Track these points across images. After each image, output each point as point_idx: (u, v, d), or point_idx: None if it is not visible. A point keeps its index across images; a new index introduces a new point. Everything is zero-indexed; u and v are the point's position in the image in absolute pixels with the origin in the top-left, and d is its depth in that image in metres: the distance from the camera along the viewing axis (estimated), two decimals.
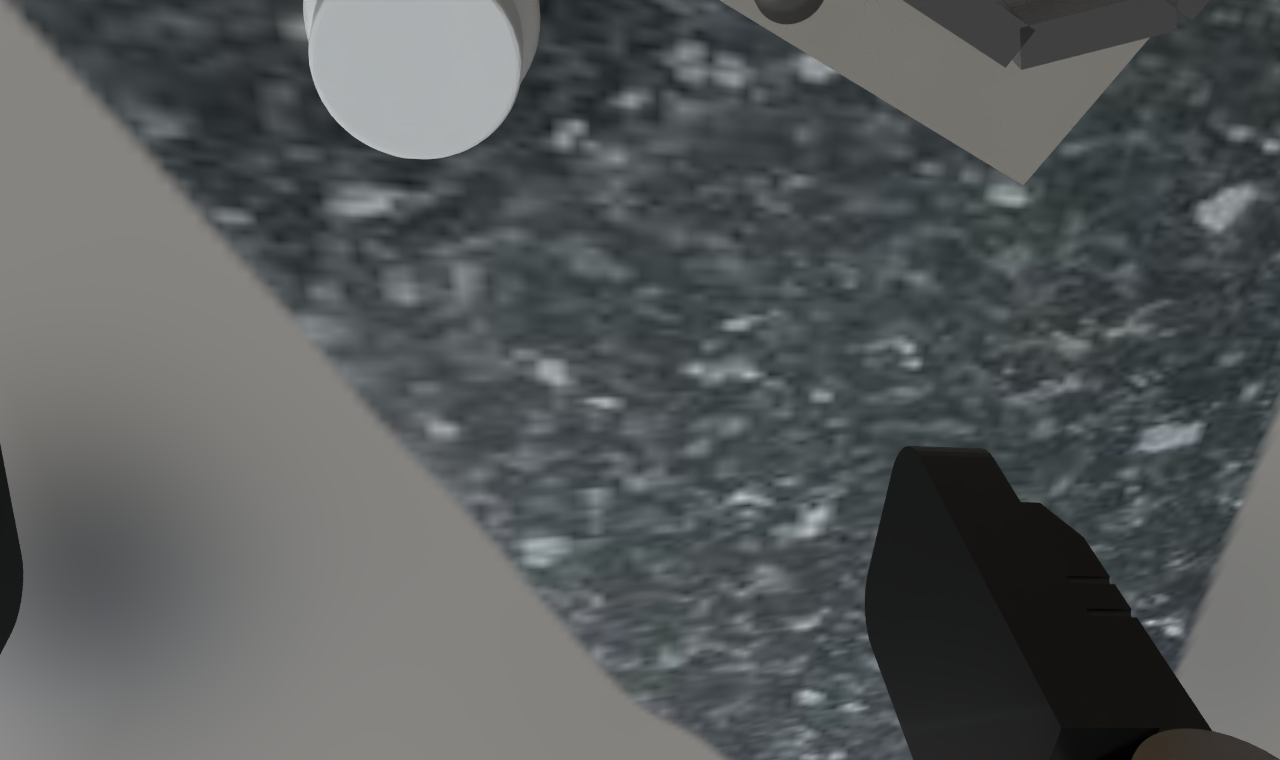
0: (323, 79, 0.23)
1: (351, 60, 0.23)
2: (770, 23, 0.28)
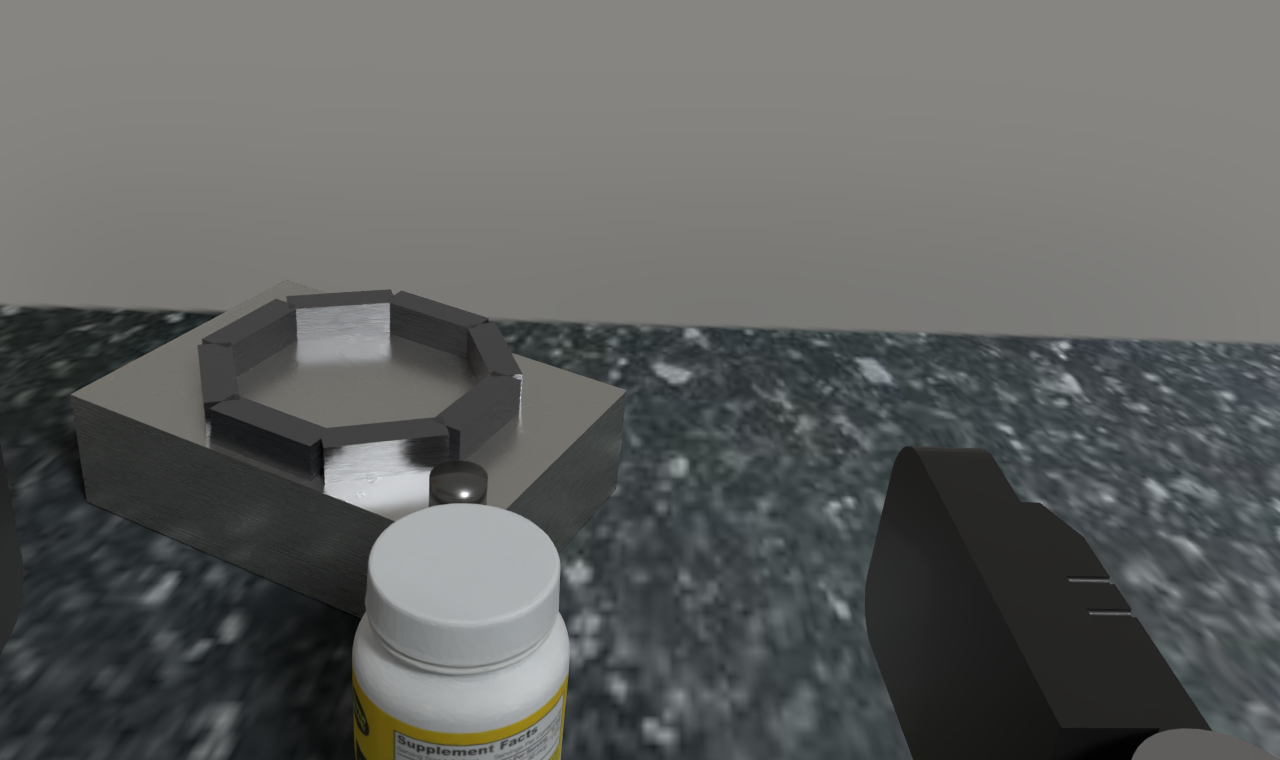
0: (477, 616, 0.24)
1: (459, 596, 0.24)
2: None
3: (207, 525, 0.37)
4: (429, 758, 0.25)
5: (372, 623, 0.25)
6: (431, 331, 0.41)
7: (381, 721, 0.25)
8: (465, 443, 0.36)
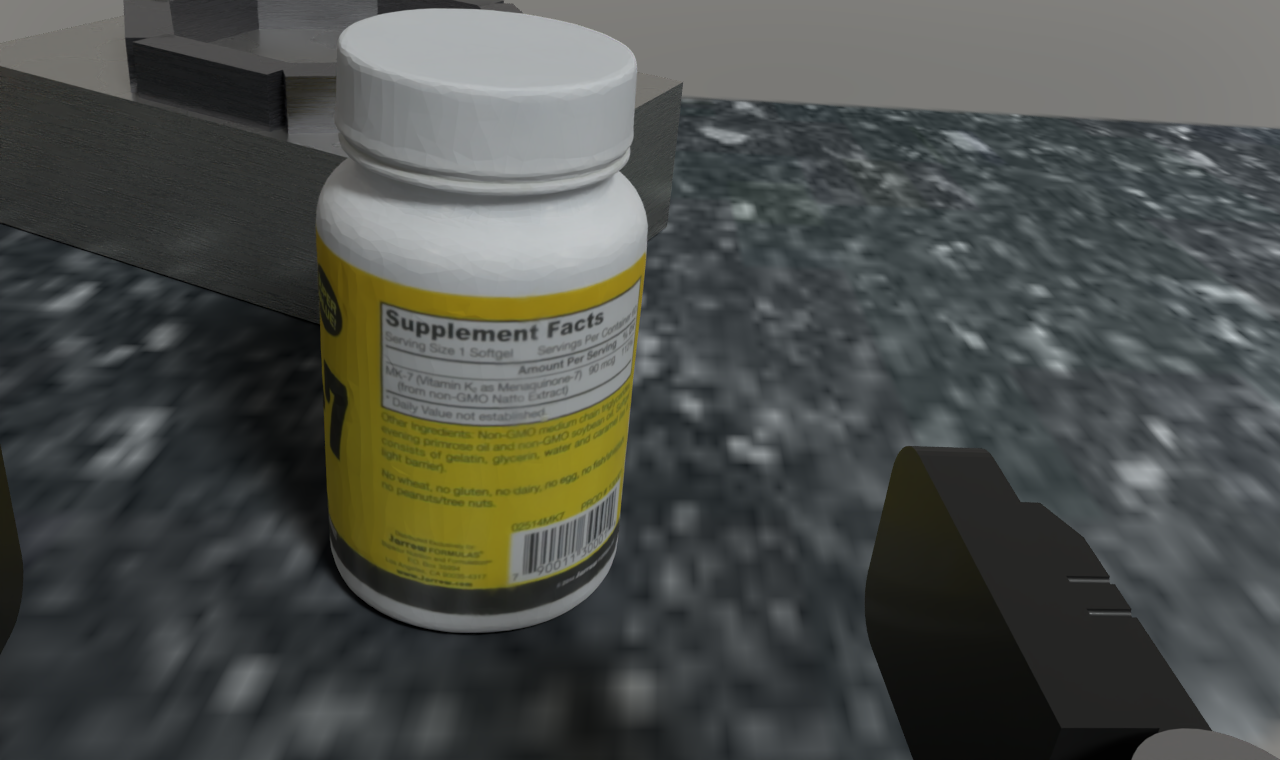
0: (512, 85, 0.15)
1: (482, 67, 0.15)
2: None
3: (135, 223, 0.28)
4: (436, 347, 0.16)
5: (344, 130, 0.16)
6: None
7: (360, 292, 0.16)
8: None
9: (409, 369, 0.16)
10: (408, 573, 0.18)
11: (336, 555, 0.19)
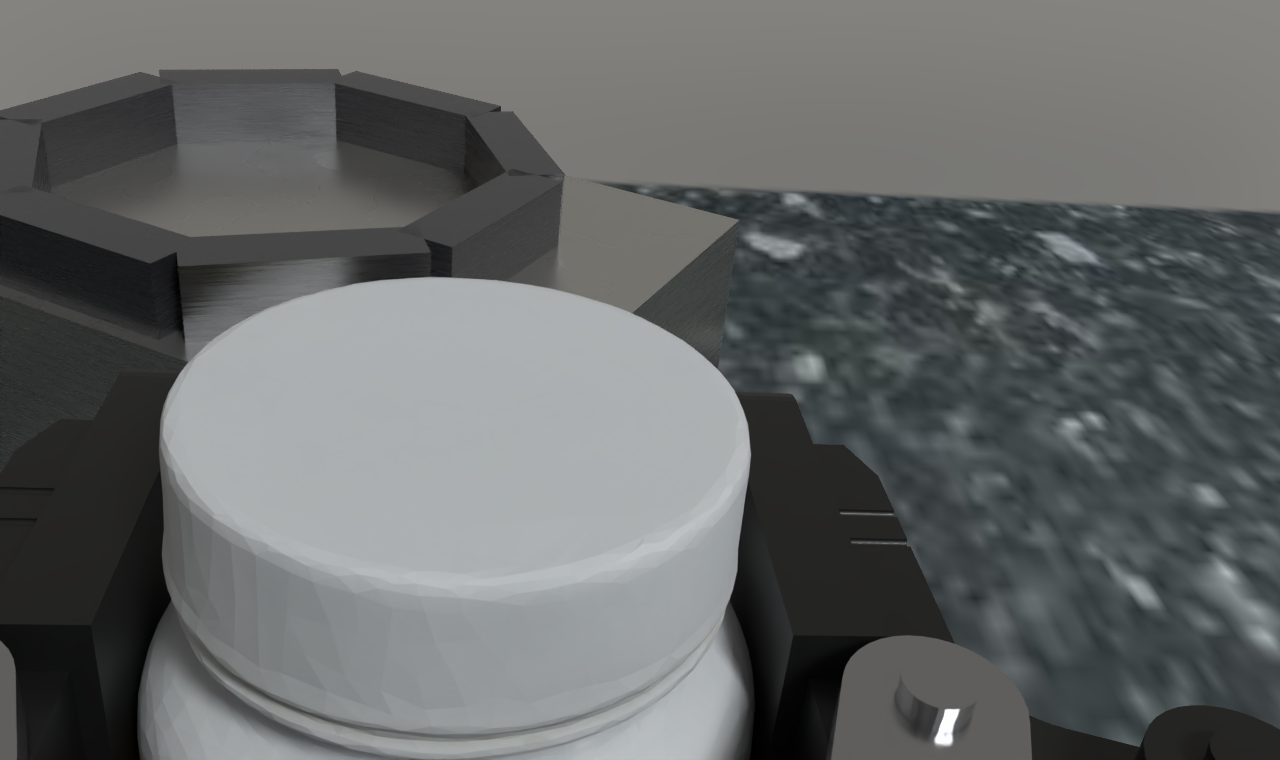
0: (508, 561, 0.07)
1: (447, 498, 0.07)
2: None
3: None
4: None
5: (172, 593, 0.08)
6: (404, 128, 0.25)
7: None
8: (462, 276, 0.19)
9: None
10: None
11: None
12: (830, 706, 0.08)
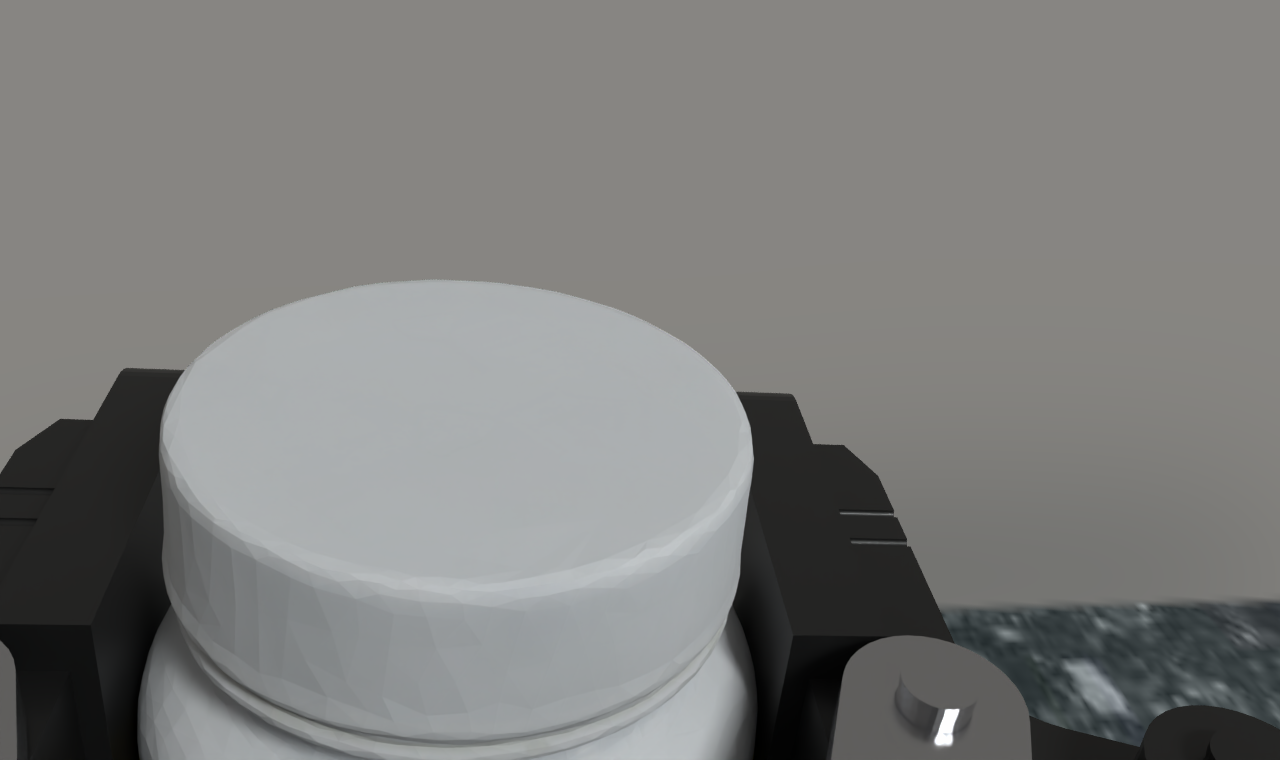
0: (511, 566, 0.07)
1: (448, 502, 0.07)
2: None
3: None
4: None
5: (172, 597, 0.08)
6: None
7: None
8: None
9: None
10: None
11: None
12: (830, 706, 0.08)
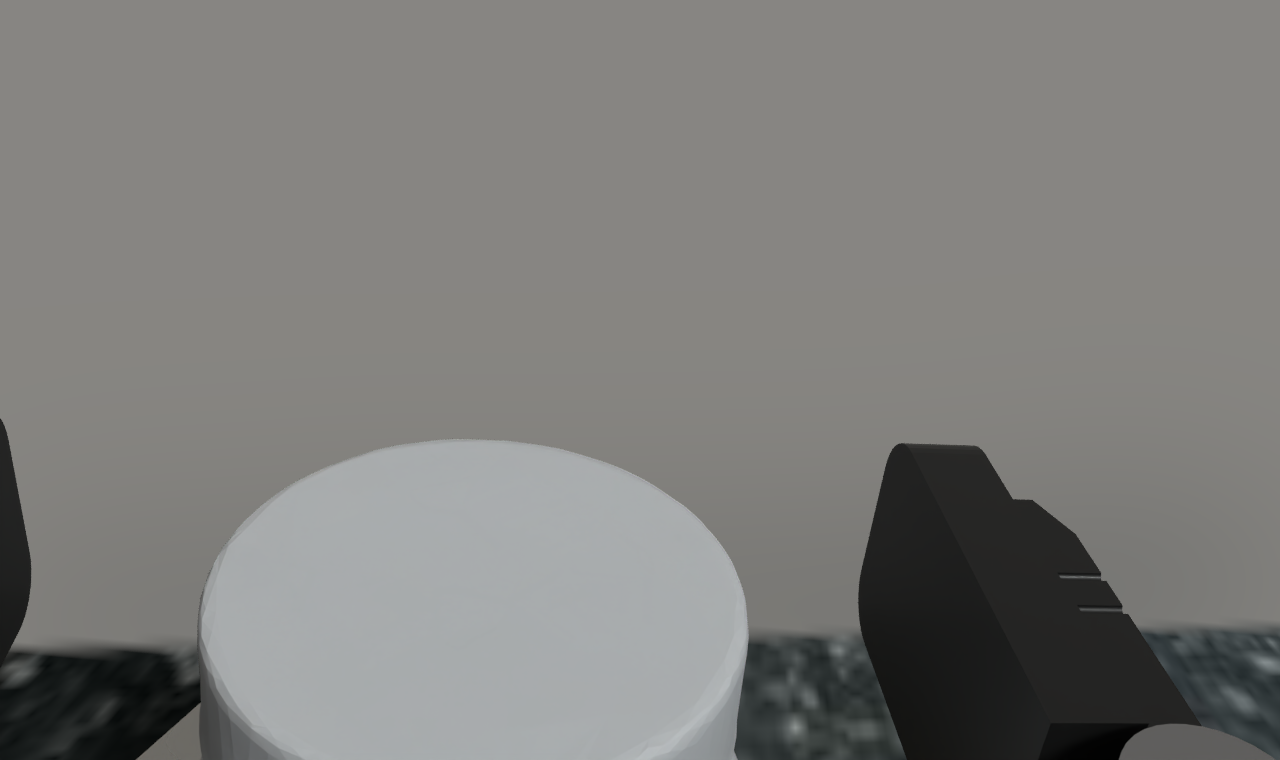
0: None
1: (466, 702, 0.08)
2: None
3: None
4: None
5: None
6: None
7: None
8: None
9: None
10: None
11: None
12: None
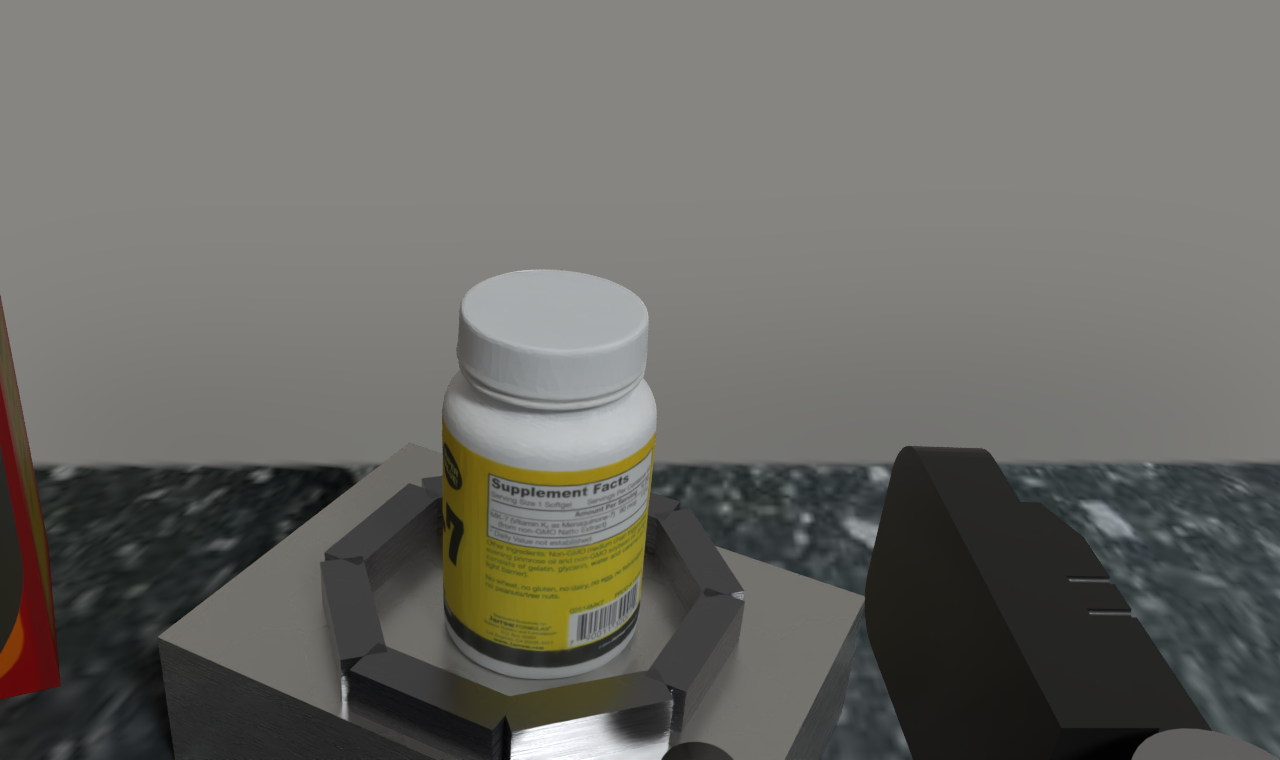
0: (572, 346, 0.24)
1: (552, 332, 0.24)
2: None
3: None
4: (523, 501, 0.25)
5: (465, 366, 0.25)
6: None
7: (475, 467, 0.25)
8: (689, 704, 0.27)
9: (505, 514, 0.25)
10: (501, 640, 0.27)
11: (450, 626, 0.28)
12: None
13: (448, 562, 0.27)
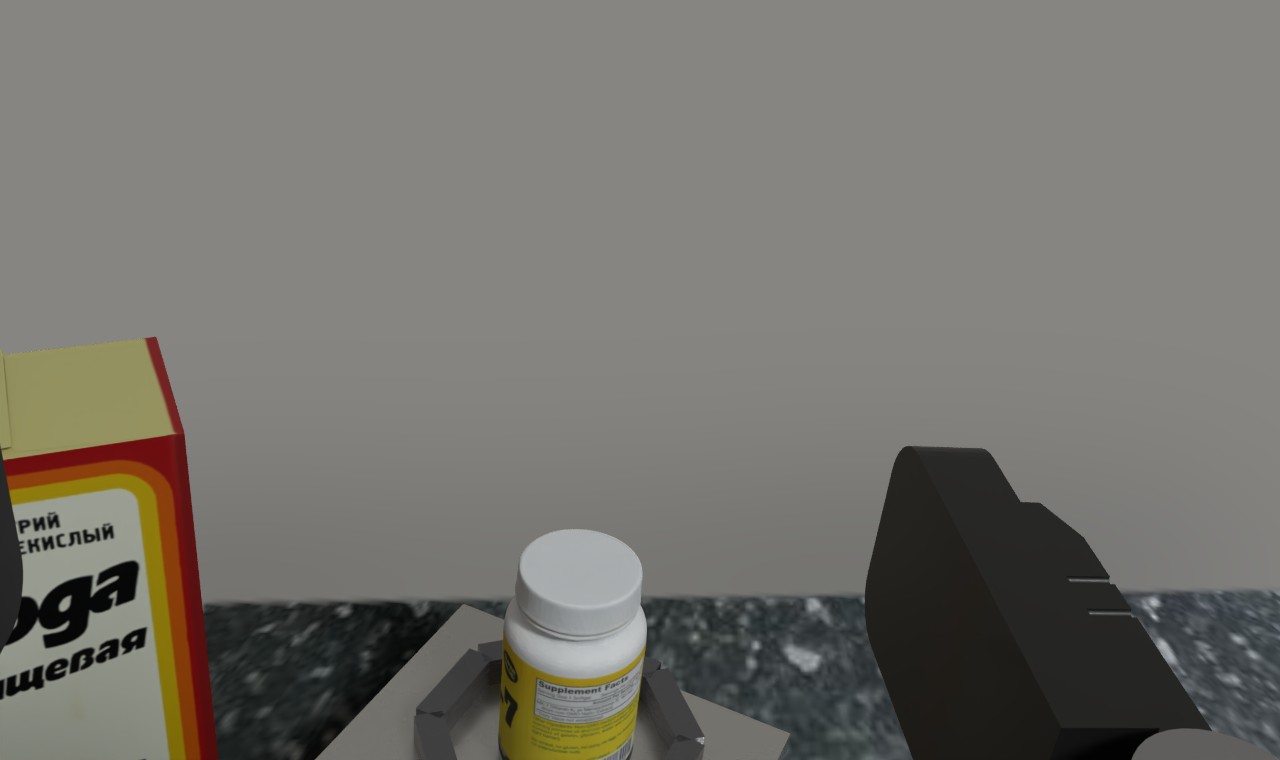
0: (593, 602, 0.37)
1: (580, 590, 0.38)
2: None
3: None
4: (559, 696, 0.38)
5: (522, 608, 0.38)
6: None
7: (527, 671, 0.38)
8: None
9: (547, 702, 0.39)
10: None
11: None
12: None
13: (504, 723, 0.41)
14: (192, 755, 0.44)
